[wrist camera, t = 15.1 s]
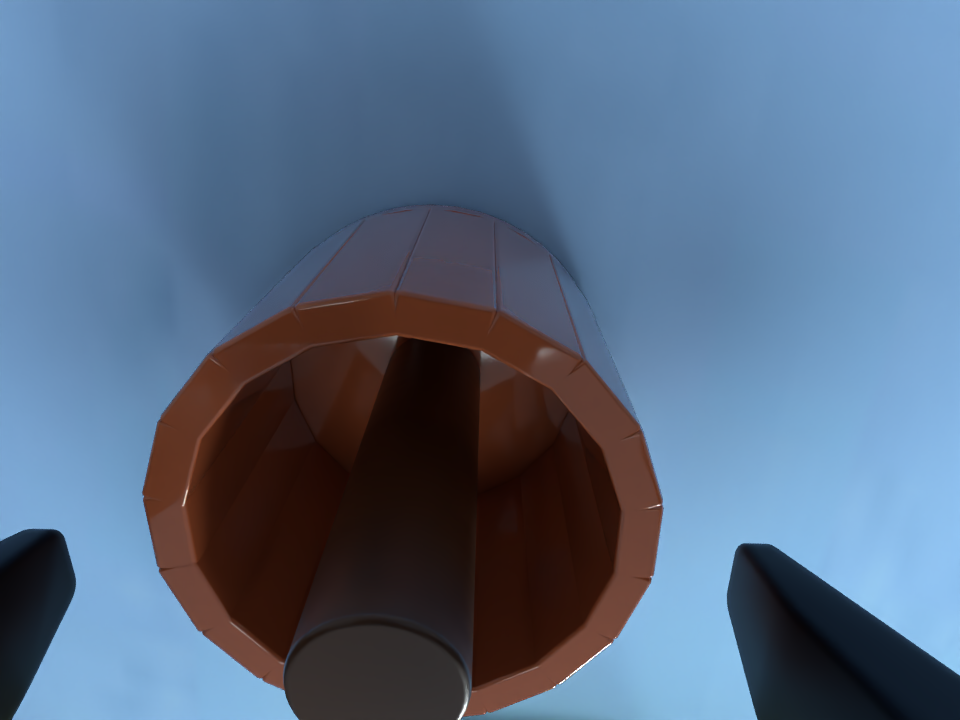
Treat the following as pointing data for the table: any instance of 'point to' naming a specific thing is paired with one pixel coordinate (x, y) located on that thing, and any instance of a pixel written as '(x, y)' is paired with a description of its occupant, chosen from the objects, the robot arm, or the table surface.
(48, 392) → the table surface
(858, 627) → the robot arm
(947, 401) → the table surface
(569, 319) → the terracotta cup
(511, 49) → the table surface
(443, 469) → the walnut stick
